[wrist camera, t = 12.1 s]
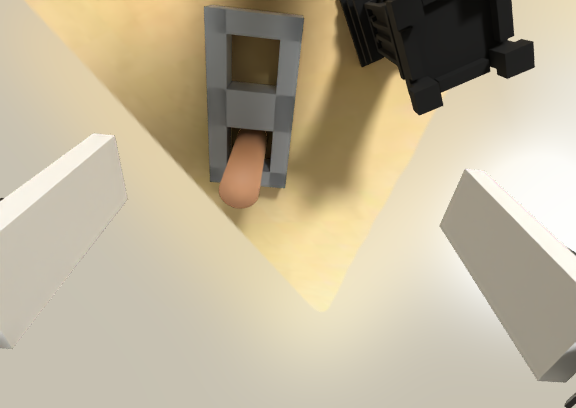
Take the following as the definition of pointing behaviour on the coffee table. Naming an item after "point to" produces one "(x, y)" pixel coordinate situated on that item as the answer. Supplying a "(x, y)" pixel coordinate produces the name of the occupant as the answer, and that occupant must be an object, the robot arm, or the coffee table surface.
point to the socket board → (250, 87)
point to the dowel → (244, 169)
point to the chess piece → (438, 42)
